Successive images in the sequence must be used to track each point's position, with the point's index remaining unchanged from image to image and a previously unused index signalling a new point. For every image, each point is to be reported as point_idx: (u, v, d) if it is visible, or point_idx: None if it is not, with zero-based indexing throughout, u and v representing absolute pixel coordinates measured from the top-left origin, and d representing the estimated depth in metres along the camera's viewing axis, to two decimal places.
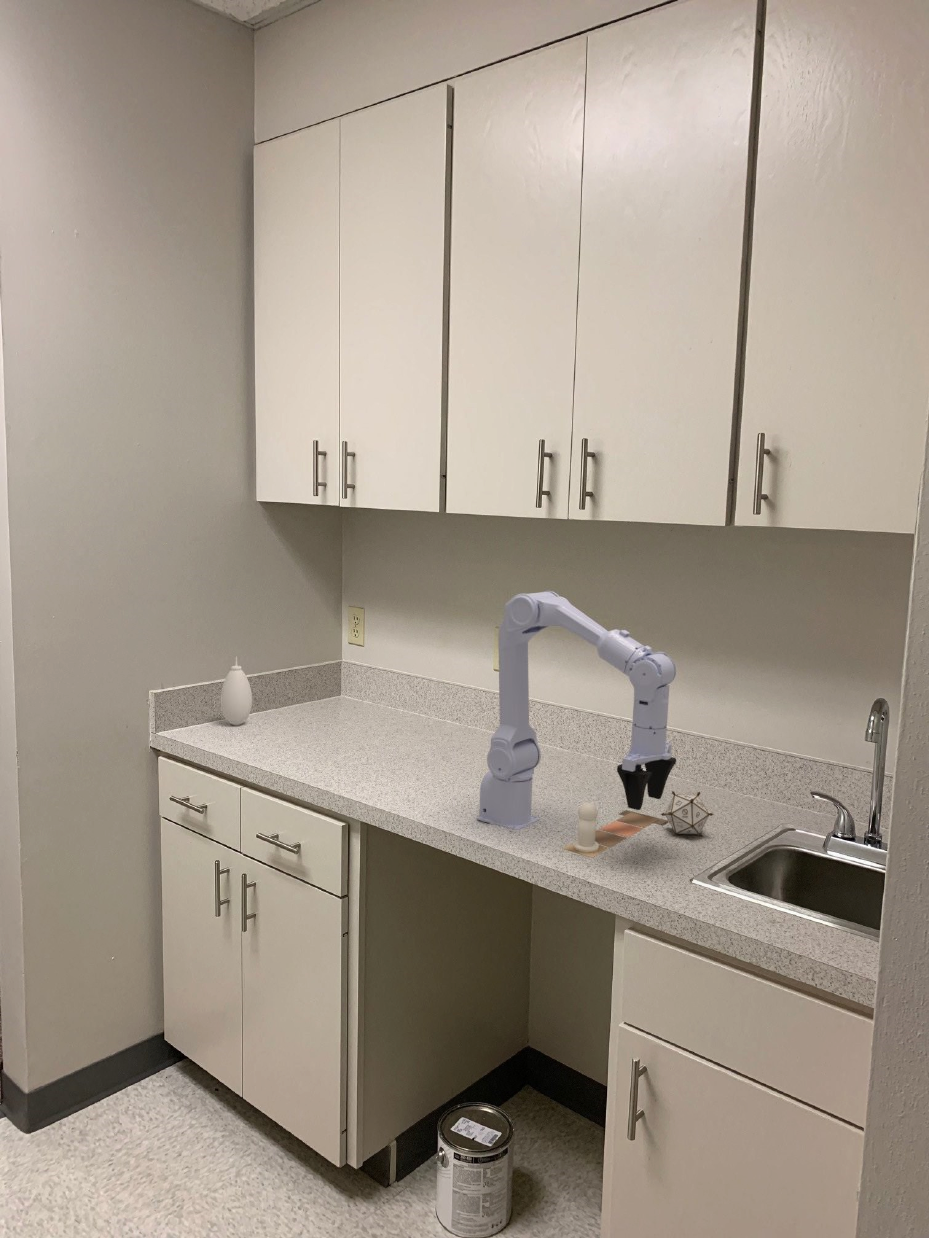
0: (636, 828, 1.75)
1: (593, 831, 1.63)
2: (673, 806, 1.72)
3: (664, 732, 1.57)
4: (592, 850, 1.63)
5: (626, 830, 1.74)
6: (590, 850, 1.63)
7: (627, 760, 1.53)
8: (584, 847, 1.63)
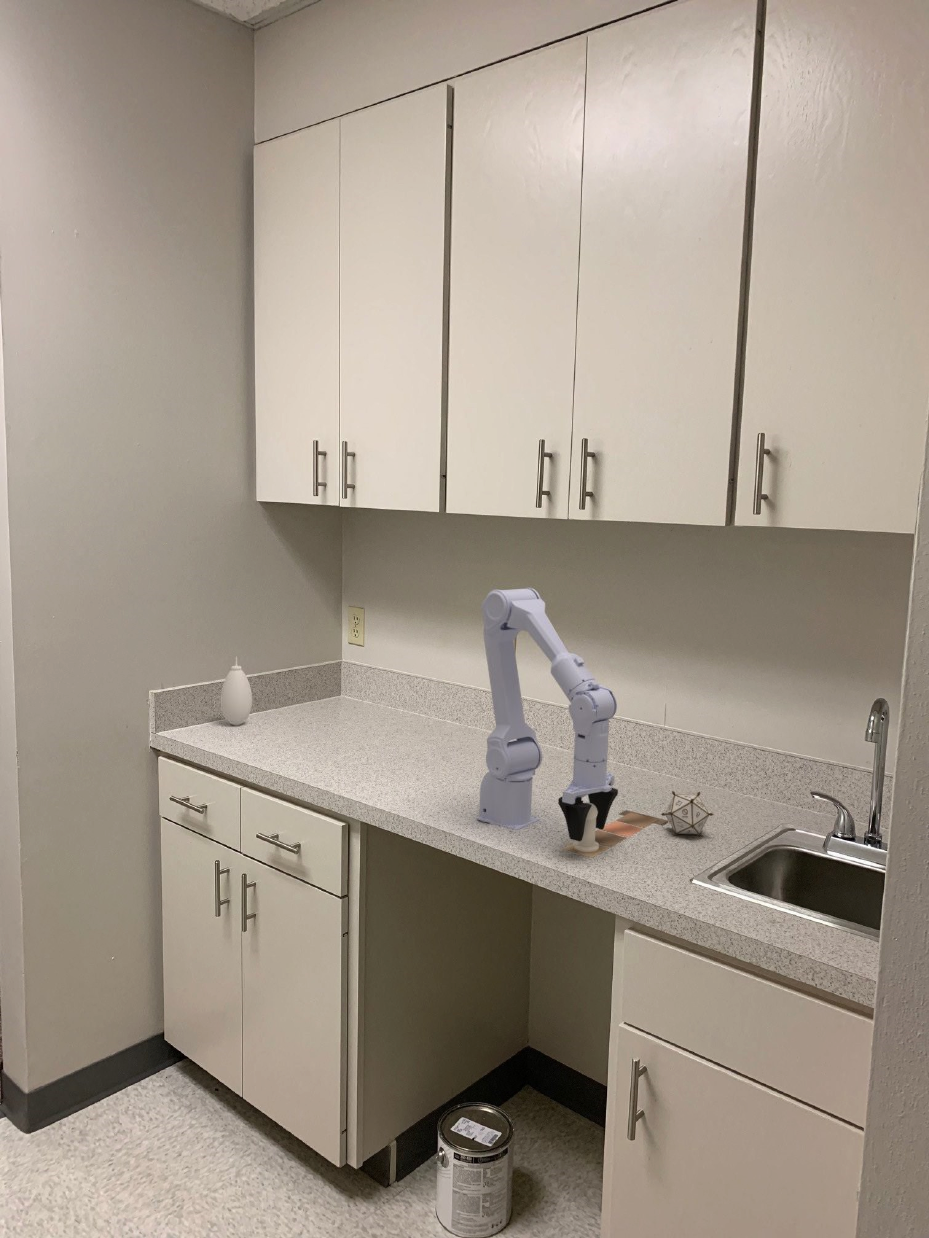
0: (636, 828, 1.75)
1: (593, 831, 1.63)
2: (673, 806, 1.72)
3: (604, 765, 1.61)
4: (592, 850, 1.63)
5: (626, 830, 1.74)
6: (590, 850, 1.63)
7: (567, 793, 1.58)
8: (584, 847, 1.63)
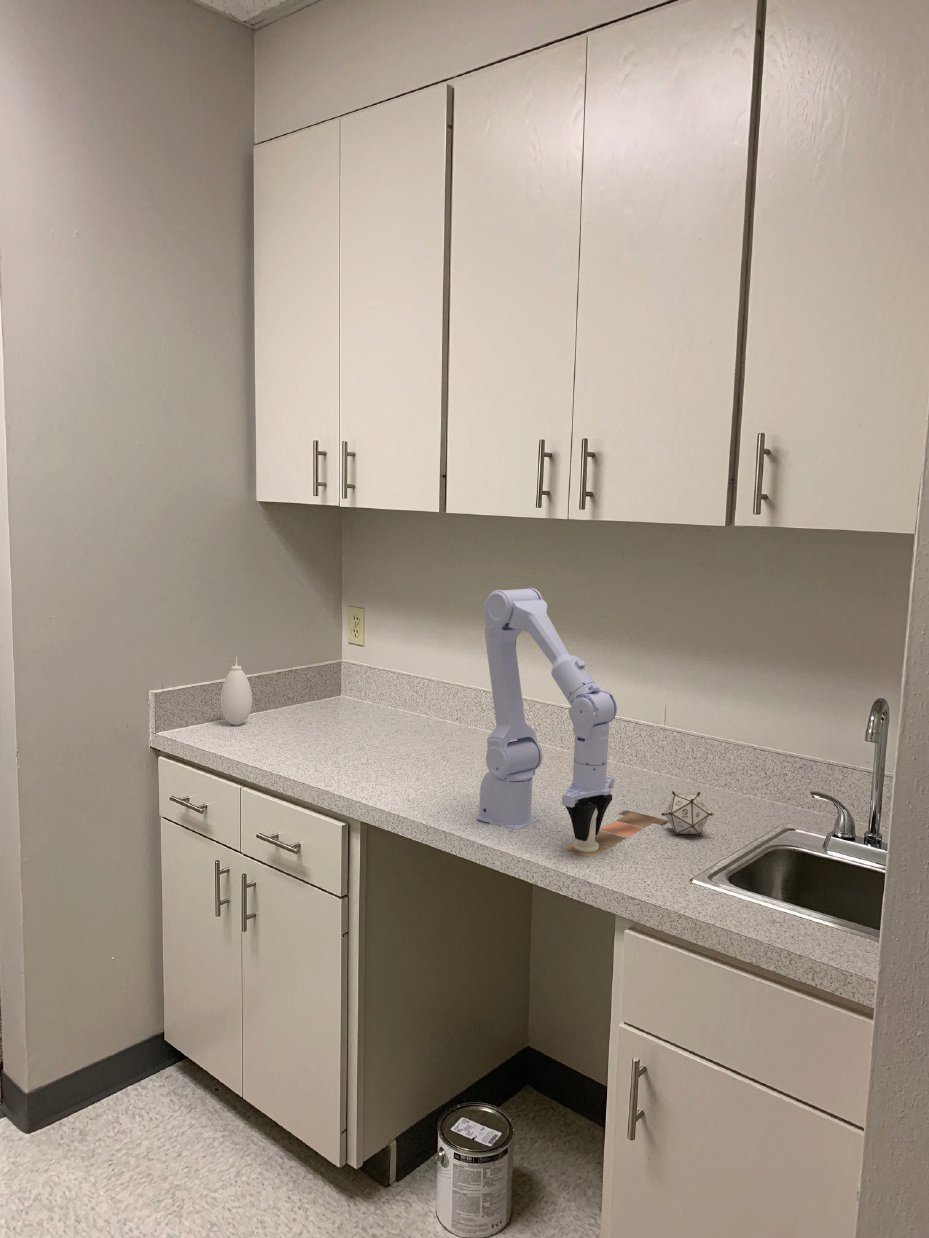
0: (636, 828, 1.75)
1: (593, 831, 1.63)
2: (673, 806, 1.72)
3: (604, 768, 1.61)
4: (592, 850, 1.63)
5: (626, 830, 1.74)
6: (590, 850, 1.63)
7: (566, 796, 1.58)
8: (584, 847, 1.63)
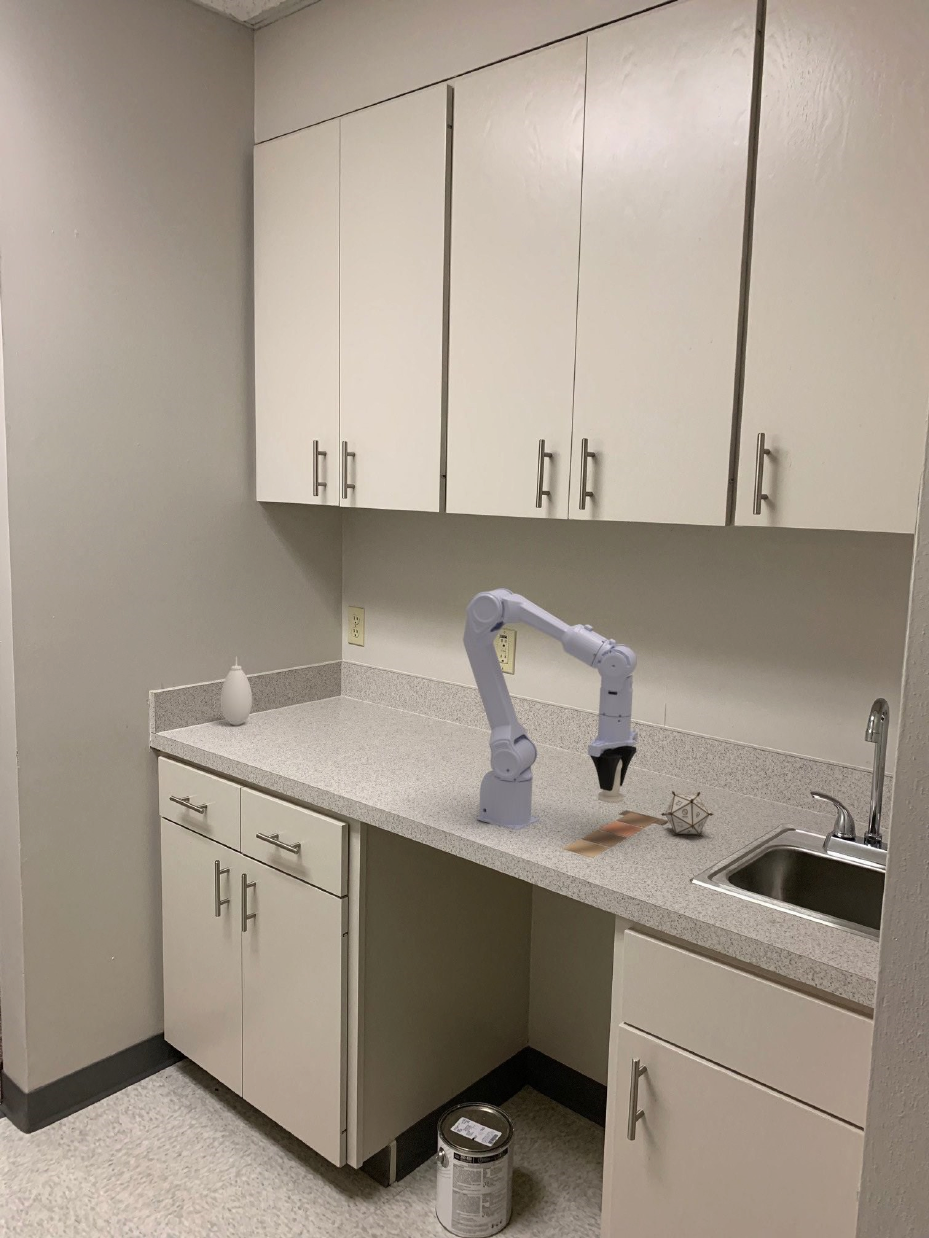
0: (636, 828, 1.75)
1: (618, 782, 1.69)
2: (673, 806, 1.72)
3: (628, 720, 1.66)
4: (617, 800, 1.68)
5: (626, 830, 1.74)
6: (615, 800, 1.68)
7: (592, 746, 1.63)
8: (609, 797, 1.68)
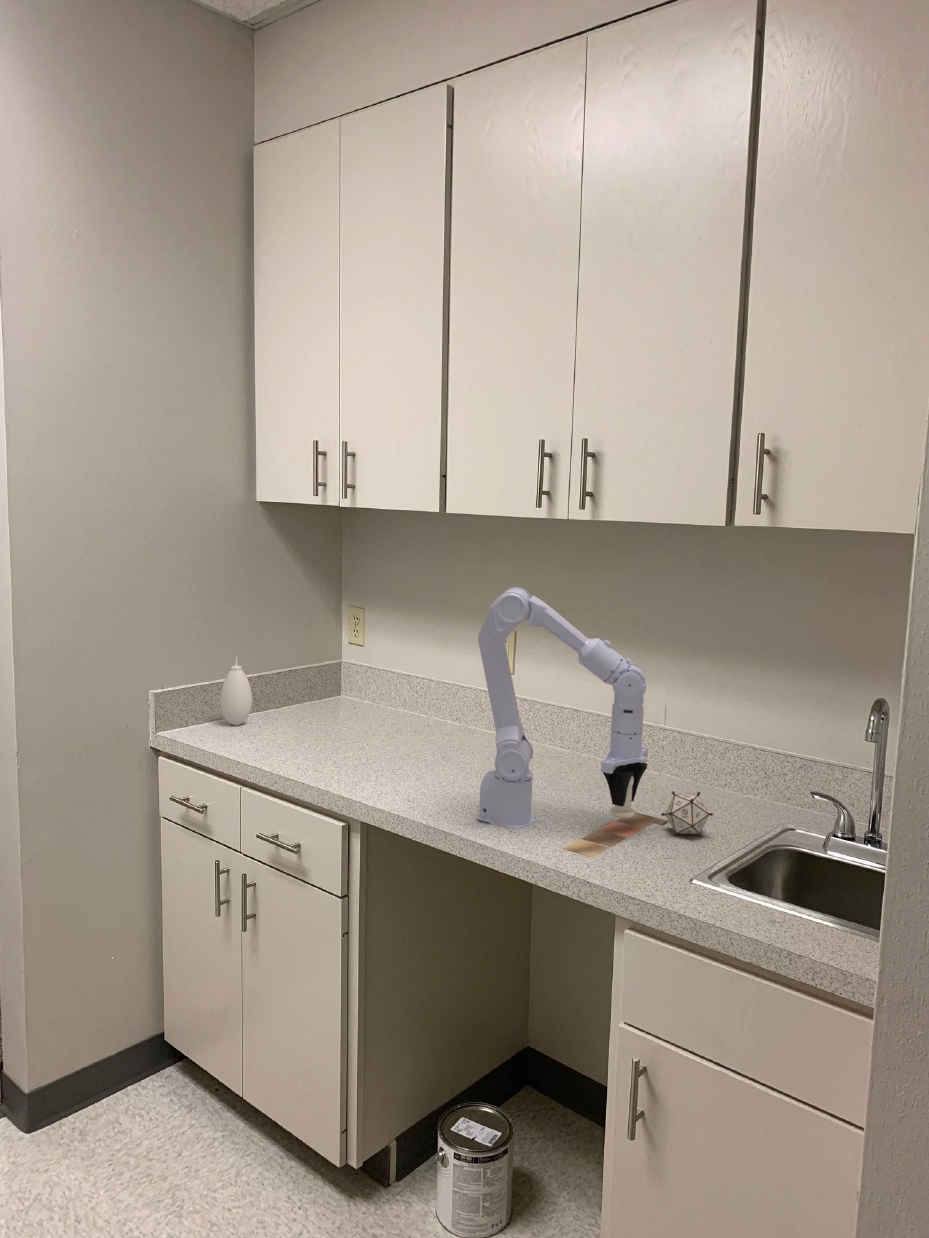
0: (636, 828, 1.75)
1: (630, 797, 1.73)
2: (673, 806, 1.72)
3: (640, 737, 1.71)
4: (629, 815, 1.72)
5: (626, 830, 1.74)
6: (627, 815, 1.72)
7: (605, 763, 1.68)
8: (621, 812, 1.73)
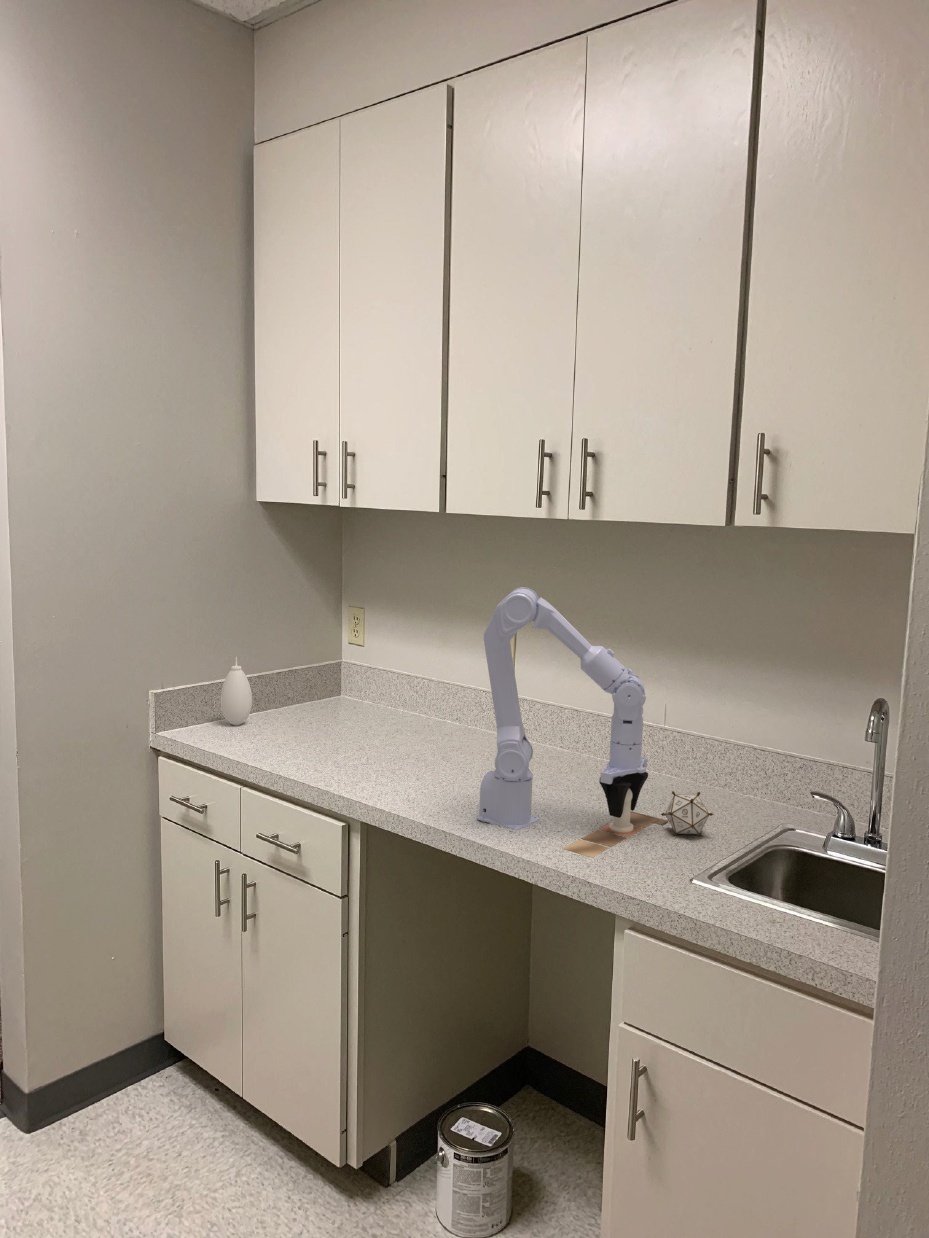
0: (636, 828, 1.75)
1: (628, 813, 1.73)
2: (673, 806, 1.72)
3: (639, 748, 1.71)
4: (627, 831, 1.73)
5: None
6: (626, 831, 1.73)
7: (605, 774, 1.68)
8: (620, 828, 1.73)
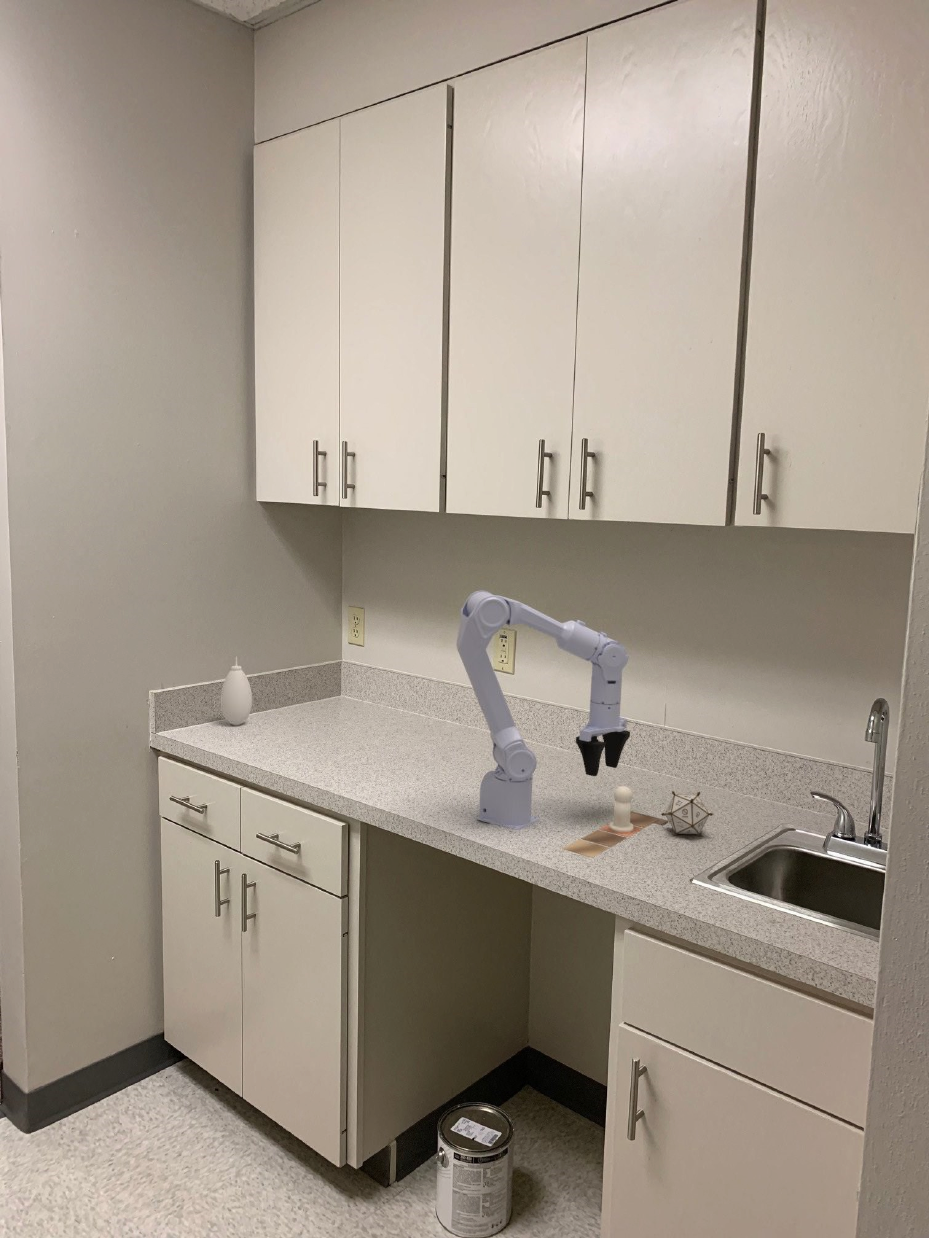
0: (636, 828, 1.75)
1: (628, 813, 1.73)
2: (673, 806, 1.72)
3: (618, 707, 1.77)
4: (627, 831, 1.73)
5: None
6: (626, 831, 1.73)
7: (584, 731, 1.74)
8: (620, 828, 1.73)
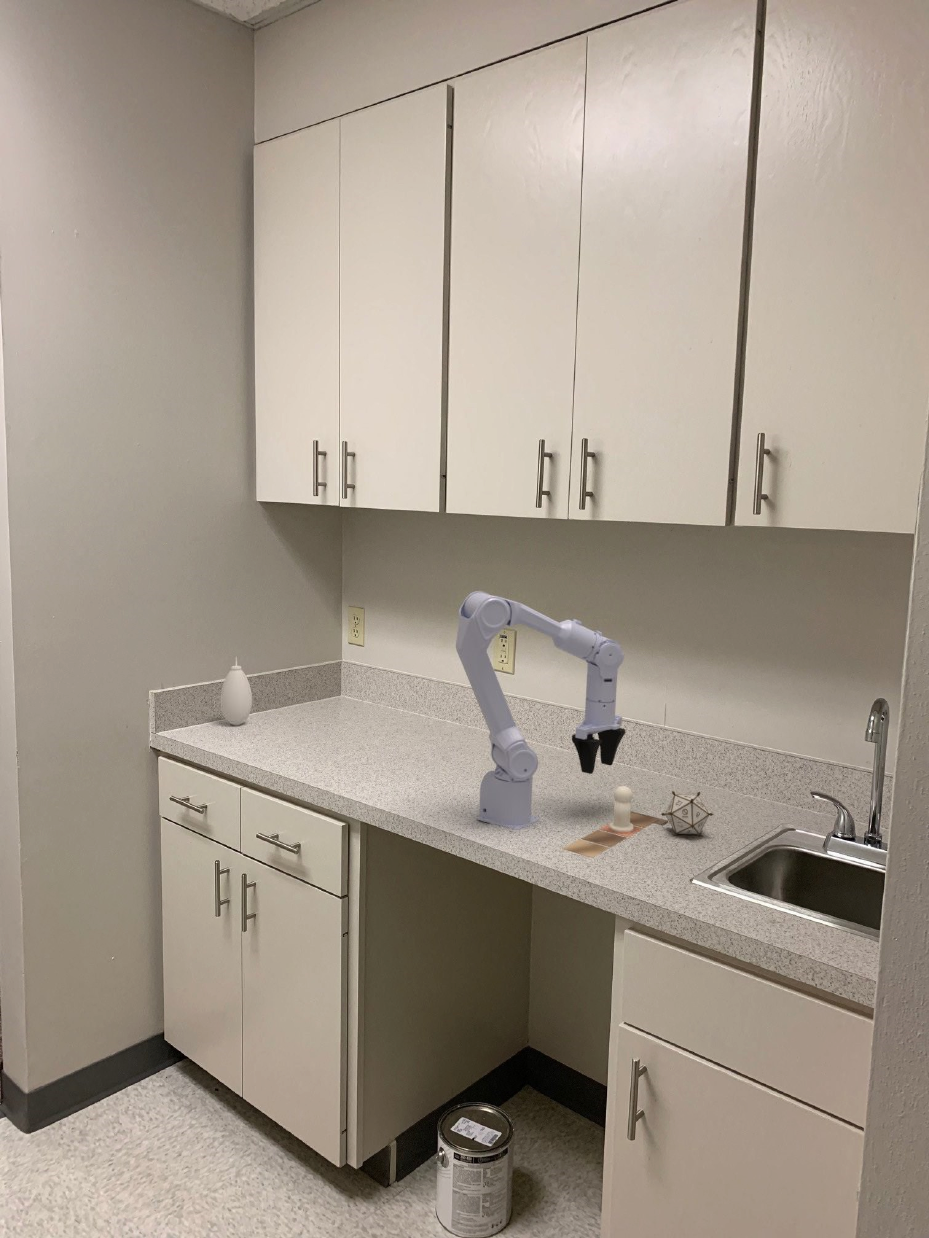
0: (636, 828, 1.75)
1: (628, 813, 1.73)
2: (673, 806, 1.72)
3: (613, 705, 1.79)
4: (627, 831, 1.73)
5: None
6: (626, 831, 1.73)
7: (580, 729, 1.75)
8: (620, 828, 1.73)
